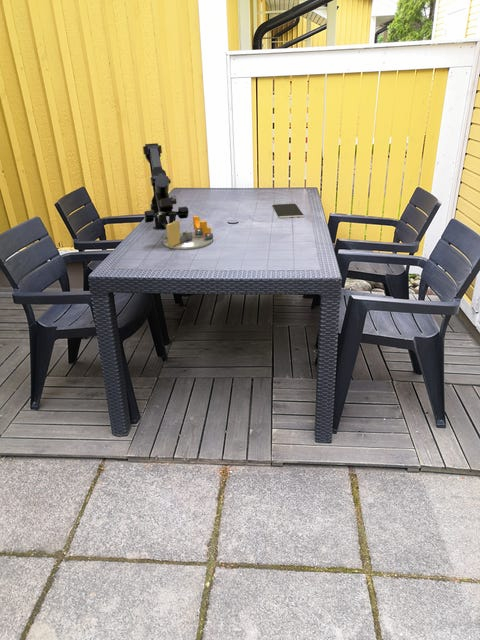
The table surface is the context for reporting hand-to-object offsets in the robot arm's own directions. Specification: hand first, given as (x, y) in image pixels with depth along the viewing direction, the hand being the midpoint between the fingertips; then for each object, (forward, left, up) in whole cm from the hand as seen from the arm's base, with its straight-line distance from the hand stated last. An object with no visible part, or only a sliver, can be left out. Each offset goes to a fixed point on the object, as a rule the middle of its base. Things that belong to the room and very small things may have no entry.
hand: (170, 231), depth 204 cm
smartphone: (-71, +36, -8) cm, 80 cm away
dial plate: (-10, +4, -7) cm, 13 cm away
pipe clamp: (-26, +4, -8) cm, 28 cm away
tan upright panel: (-4, +2, -6) cm, 8 cm away
